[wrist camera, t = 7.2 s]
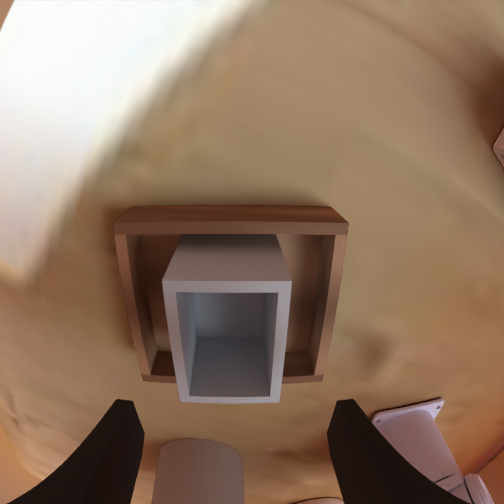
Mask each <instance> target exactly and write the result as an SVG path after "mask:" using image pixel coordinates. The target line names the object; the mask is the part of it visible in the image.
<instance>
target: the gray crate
mask: <svg viewBox="0 0 504 504" xmlns="http://www.w3.org/2000/svg"><path fill="white" fill-rule="evenodd" d="M162 285H163V294H164V302H165V310H166V317H167V324H168V331H169V338H170V345H171V351H172V357H173V363H174V369H175V375H176V381H177V386H178V391H179V397H180V402H193V403H277V402H279V401H280V393H281V385H282V376H283V367H284V358H285V349H286V339H287V329H288V319H289V309H290V298H291V286H292V280H291V277H290V274H289V271H288V268H287V265H286V262H285V259H284V256H283V253H282V250H281V247H280V244H279V241H278V238H277V235H276V234H183V236H182V238H181V240H180V242H179V244H178V246H177V248H176V251H175V253H174V255H173V257H172V259H171V261H170V264H169V266H168V268H167V270H166V273H165V275H164V277H163V279H162Z"/></svg>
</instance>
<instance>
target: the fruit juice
mask: <svg viewBox="0 0 504 504" xmlns="http://www.w3.org/2000/svg"><path fill="white" fill-rule="evenodd" d="M296 504H344V502H343V501H342V500H340V499H337V498H319V499H313V500H308V501H303V502H300V503H296Z"/></svg>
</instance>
